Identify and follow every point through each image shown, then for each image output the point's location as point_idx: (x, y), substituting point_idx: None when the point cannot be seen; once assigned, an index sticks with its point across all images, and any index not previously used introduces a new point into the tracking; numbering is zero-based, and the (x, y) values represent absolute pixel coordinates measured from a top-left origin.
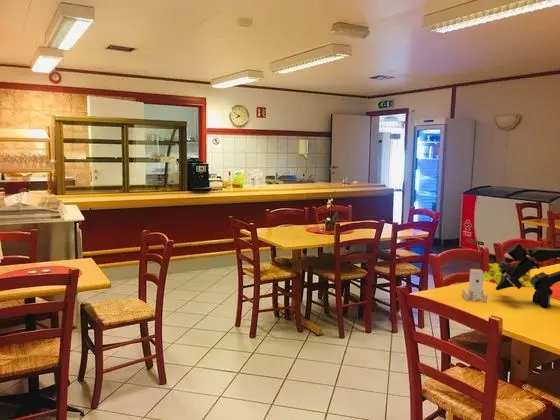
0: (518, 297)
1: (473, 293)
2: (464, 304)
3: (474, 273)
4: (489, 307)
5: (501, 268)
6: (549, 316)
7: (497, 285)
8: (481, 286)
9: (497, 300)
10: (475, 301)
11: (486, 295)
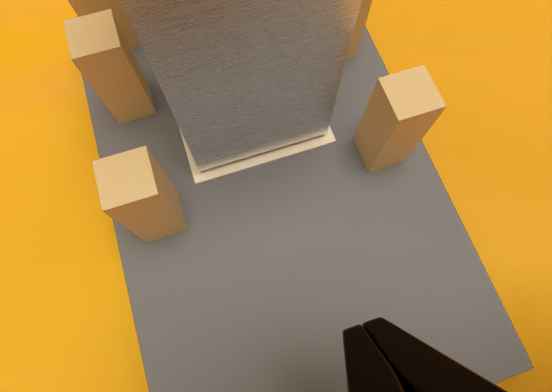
0: None
1: (105, 23)
2: (40, 40)
3: None
4: (31, 289)
5: None
6: None
7: (442, 365)
8: (138, 27)
9: None
10: (114, 114)
11: (102, 198)
